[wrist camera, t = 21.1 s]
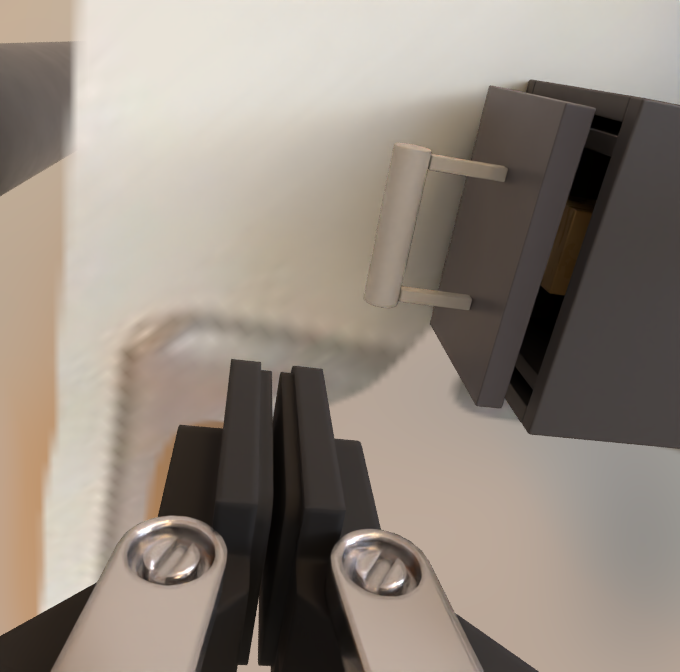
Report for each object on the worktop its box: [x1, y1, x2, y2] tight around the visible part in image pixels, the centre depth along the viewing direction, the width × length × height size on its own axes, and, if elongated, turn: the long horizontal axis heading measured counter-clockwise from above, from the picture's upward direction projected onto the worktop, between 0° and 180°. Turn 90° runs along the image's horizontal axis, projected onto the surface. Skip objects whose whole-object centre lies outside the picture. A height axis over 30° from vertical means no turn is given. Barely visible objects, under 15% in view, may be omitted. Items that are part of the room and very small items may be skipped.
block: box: [541, 196, 597, 296], centre depth 32 cm, size 4×4×4 cm
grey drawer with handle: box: [364, 86, 621, 408], centre depth 30 cm, size 20×13×9 cm, turn 80°
